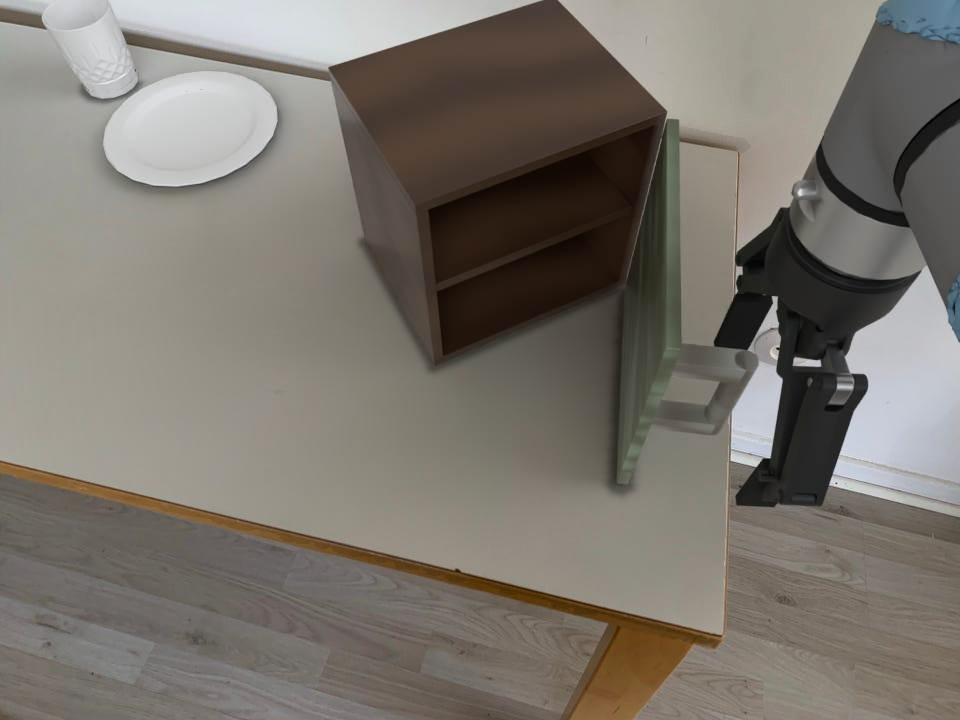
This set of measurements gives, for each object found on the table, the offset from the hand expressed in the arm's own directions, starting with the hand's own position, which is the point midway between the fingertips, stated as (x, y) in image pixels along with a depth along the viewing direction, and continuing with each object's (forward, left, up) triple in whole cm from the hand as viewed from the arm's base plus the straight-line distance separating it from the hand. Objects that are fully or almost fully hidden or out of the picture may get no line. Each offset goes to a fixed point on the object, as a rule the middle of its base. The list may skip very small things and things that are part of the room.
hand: (741, 419), depth 57 cm
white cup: (+80, +36, -10) cm, 89 cm away
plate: (+65, +29, -10) cm, 72 cm away
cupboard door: (+10, -1, -10) cm, 14 cm away
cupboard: (+30, +6, -10) cm, 32 cm away
